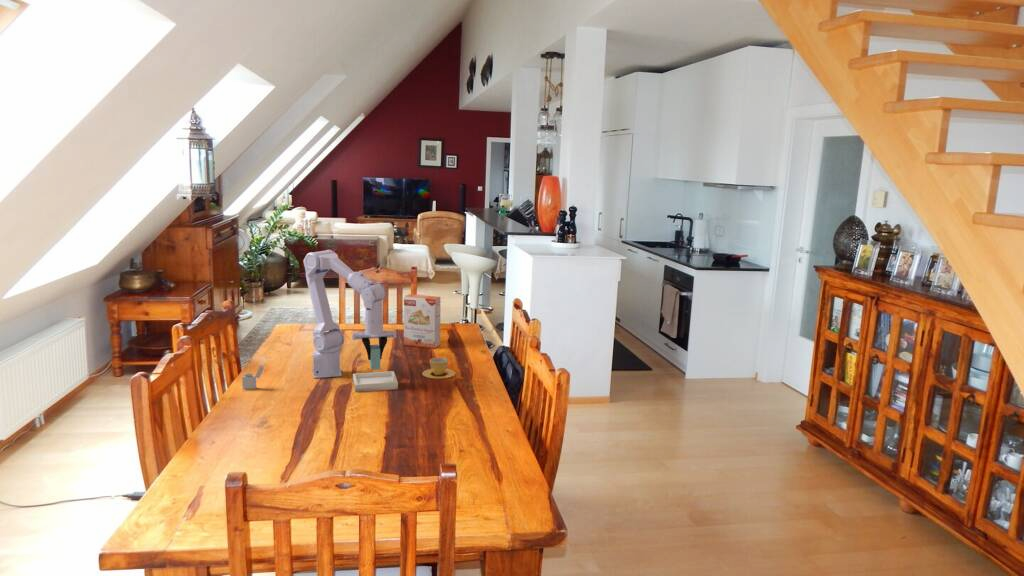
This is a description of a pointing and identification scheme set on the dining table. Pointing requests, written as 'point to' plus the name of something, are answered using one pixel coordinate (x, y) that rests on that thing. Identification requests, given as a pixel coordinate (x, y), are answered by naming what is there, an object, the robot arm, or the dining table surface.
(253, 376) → the lighter
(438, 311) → the cracker box
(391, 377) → the tray
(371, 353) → the teal block
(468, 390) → the dining table surface
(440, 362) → the cup
